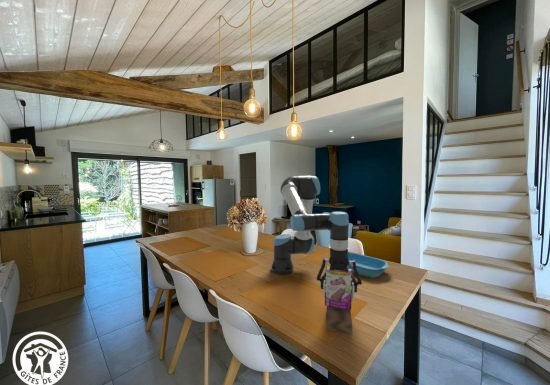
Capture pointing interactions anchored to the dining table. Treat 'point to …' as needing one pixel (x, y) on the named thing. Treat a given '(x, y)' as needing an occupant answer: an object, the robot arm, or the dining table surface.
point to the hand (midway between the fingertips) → (338, 297)
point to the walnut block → (338, 320)
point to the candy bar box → (338, 288)
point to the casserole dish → (367, 265)
